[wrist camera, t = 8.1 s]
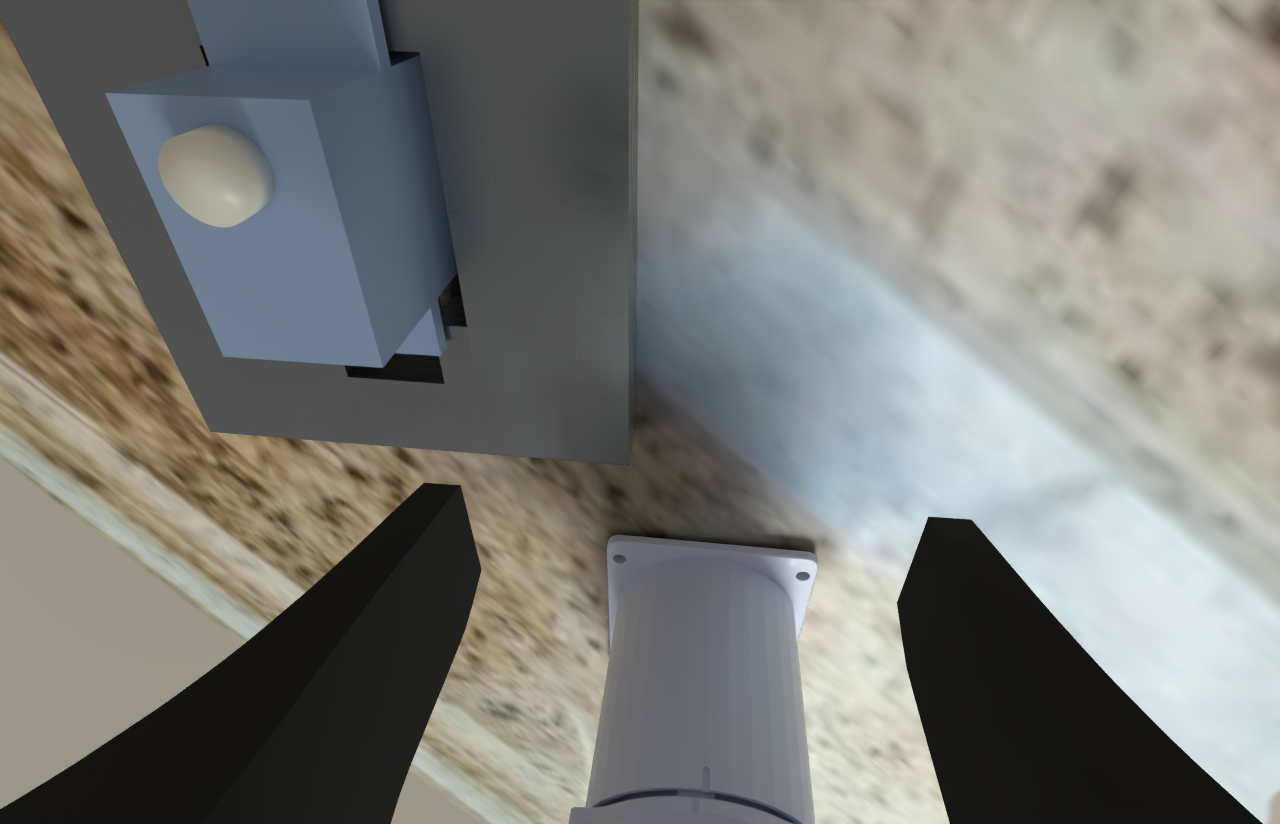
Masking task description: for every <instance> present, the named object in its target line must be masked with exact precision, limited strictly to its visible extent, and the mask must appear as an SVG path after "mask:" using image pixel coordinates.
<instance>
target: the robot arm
mask: <svg viewBox="0 0 1280 824" xmlns="http://www.w3.org/2000/svg"><path fill="white" fill-rule="evenodd" d="M620 555H623V556H620ZM818 568H819V565H818V558H817V557H816V555H815V554H813V553H811V552H807V551H796V550H785V549H774V548H762V547H751V546H740V545H729V544H718V543H706V542H695V541H684V540H673V539H662V538H650V537H639V536H628V535H615V536H612V537H611V538H610V539H609V541H608V545H607V571H608V603H609V635H610V658H609V664H608V670H607V676H606V682H605V689H604V695H603V701H602V707H601V714H600V720H599V726H598V732H597V738H596V745H595V751H594V757H593V763H592V770H591V776H590V782H589V788H588V795H587V801H586V807H573V808H572V809H571V813H570V819H569V824H815V818H814V808H813V798H812V787H811V777H810V767H809V757H808V747H807V737H806V727H805V716H804V706H803V696H802V686H801V676H800V666H799V656H798V645H797V644H798V641H799V637H800V633H801V630H802V626H803V623H804V619H805V615H806V612H807V608H808V604H809V601H810V597H811V594H812V590H813V586H814V583H815V579H816V575H817V572H818ZM480 573H481V566H480V562H479V558H478V554H477V550H476V546H475V542H474V538H473V534H472V530H471V526H470V521H469V517H468V513H467V509H466V505H465V501H464V497H463V493H462V489H461V485H447V484H432V483H423V484H422V485H421V486H420V487H419V488H418V489H417V490H416V491H415V492H414V493H412V494H411V495H410V496H409V497H408V498H407V499H406V500H405V501H404V502H403V503H402V504H401V505H400V506H399V507H397V508H396V509H395V510H394V511H393V512H392V513H391V514H390V515H389V516H388V517H387V518H386V519H385V520H384V521H383V522H382V523H381V524H380V525H379V526H377V527H376V528H375V529H374V530H373V531H372V532H371V533H370V534H369V535H368V536H367V537H366V538H365V539H364V540H363V541H362V542H361V543H359V544H358V545H357V546H356V547H355V548H354V549H353V550H352V551H351V552H350V553H349V554H348V555H347V556H345V557H344V558H343V559H342V560H341V561H340V562H339V563H338V564H337V565H336V566H334V567H333V568H332V569H331V570H330V571H329V572H328V573H327V574H326V575H325V576H323V577H322V578H321V579H320V580H319V581H318V582H317V583H316V584H315V585H314V586H312V587H311V588H310V589H309V590H308V591H307V592H306V593H305V594H303V595H302V596H301V597H300V598H299V599H298V600H296V601H295V602H294V603H293V604H292V605H290V606H289V607H288V608H287V609H286V610H284V611H283V612H282V613H281V614H280V615H279V616H277V617H276V618H275V619H274V620H273V621H271V622H270V623H269V624H268V625H267V626H266V627H264V628H263V629H262V630H261V631H260V632H258V633H257V634H256V635H255V636H254V637H252V638H251V639H250V640H249V641H247V642H246V643H245V644H244V645H242V646H241V647H240V648H239V649H237V650H236V651H235V652H234V653H233V654H231V655H230V656H228V657H227V658H226V659H225V660H223V661H222V662H221V663H219V664H218V665H217V666H215V667H214V668H213V669H211V670H210V671H209V672H207V673H206V674H205V675H203V676H202V677H201V678H199V679H198V680H197V681H195V682H194V683H192V684H191V685H190V686H188V687H187V688H186V689H184V690H183V691H182V692H180V693H179V694H177V695H176V696H175V697H173V698H172V699H170V700H169V701H168V702H166V703H165V704H163V705H162V706H161V707H159V708H158V709H156V710H155V711H153V712H152V713H150V714H149V715H147V716H146V717H144V718H143V719H141V720H140V721H139V722H137V723H135V724H134V725H132V726H131V727H129V728H128V729H126V730H125V731H123V732H122V733H120V734H119V735H117V736H116V737H114V738H113V739H111V740H110V741H108V742H107V743H105V744H104V745H102V746H101V747H99V748H98V749H96V750H95V751H93V752H92V753H90V754H89V755H87V756H86V757H84V758H83V759H81V760H80V761H78V762H77V763H75V764H74V765H72V766H70V767H69V768H67V769H66V770H64V771H63V772H61V773H59V774H58V775H56V776H54V777H53V778H51V779H50V780H48V781H46V782H45V783H43V784H41V785H40V786H38V787H36V788H35V789H33V790H32V791H30V792H28V793H27V794H25V795H23V796H22V797H20V798H19V799H17V800H15V801H14V802H12V803H10V804H8V805H7V806H5V807H3V808H2V809H0V824H390V823H391V821H392V817H393V814H394V811H395V808H396V804H397V801H398V798H399V795H400V792H401V790H402V787H403V784H404V781H405V778H406V776H407V773H408V770H409V768H410V765H411V762H412V760H413V758H414V755H415V753H416V750H417V748H418V745H419V743H420V740H421V738H422V735H423V733H424V731H425V728H426V726H427V723H428V721H429V718H430V716H431V713H432V711H433V709H434V706H435V704H436V701H437V699H438V696H439V694H440V691H441V689H442V687H443V684H444V682H445V679H446V677H447V674H448V672H449V669H450V667H451V664H452V662H453V659H454V657H455V654H456V652H457V649H458V647H459V644H460V642H461V639H462V637H463V634H464V631H465V629H466V625H467V622H468V618H469V615H470V611H471V608H472V604H473V600H474V597H475V593H476V589H477V585H478V581H479V577H480ZM897 606H898V613H899V620H900V627H901V635H902V641H903V647H904V653H905V660H906V666H907V670H908V674H909V678H910V682H911V686H912V689H913V693H914V697H915V700H916V704H917V708H918V711H919V715H920V719H921V722H922V726H923V729H924V733H925V736H926V740H927V744H928V747H929V751H930V754H931V758H932V761H933V765H934V769H935V772H936V776H937V779H938V783H939V786H940V790H941V793H942V797H943V801H944V804H945V808H946V811H947V815H948V818H949V822H950V824H1262V823H1261V822H1260V821H1259V820H1258V819H1257V818H1256V817H1255V816H1254V815H1252V814H1251V813H1250V812H1249V811H1248V810H1247V809H1246V808H1245V807H1244V806H1243V805H1241V804H1240V803H1239V802H1238V801H1237V800H1236V799H1235V798H1234V797H1233V796H1232V795H1231V794H1229V793H1228V792H1227V791H1226V790H1225V789H1224V788H1223V787H1222V786H1221V785H1220V784H1218V783H1217V782H1216V781H1215V780H1214V779H1213V778H1212V777H1211V776H1210V775H1209V774H1208V773H1206V772H1205V771H1204V770H1203V769H1202V768H1201V767H1200V766H1199V765H1198V764H1197V763H1195V762H1194V761H1193V760H1192V759H1191V758H1190V757H1189V756H1188V755H1187V754H1186V753H1185V752H1184V751H1183V750H1182V749H1181V748H1180V747H1179V746H1178V745H1177V744H1176V743H1175V742H1174V741H1172V740H1171V739H1170V738H1169V737H1168V736H1167V735H1166V734H1165V733H1164V732H1163V731H1162V730H1161V729H1160V728H1159V727H1158V726H1157V725H1156V724H1155V723H1154V722H1153V721H1152V720H1151V719H1150V718H1149V717H1148V716H1147V715H1146V714H1145V713H1144V712H1143V711H1142V710H1141V709H1140V707H1139V706H1138V705H1137V704H1136V703H1135V702H1134V701H1133V700H1132V699H1131V698H1130V697H1129V696H1128V695H1127V694H1126V693H1125V692H1124V691H1123V690H1122V689H1121V688H1120V687H1119V686H1118V685H1117V684H1116V683H1115V682H1114V681H1113V680H1112V679H1111V678H1110V677H1109V676H1108V675H1107V674H1106V673H1105V671H1104V670H1103V669H1102V668H1101V667H1100V666H1099V665H1098V664H1097V663H1096V662H1095V661H1094V660H1093V659H1092V657H1091V656H1090V655H1089V654H1088V653H1087V652H1086V651H1085V650H1084V649H1083V648H1082V646H1081V645H1080V644H1079V643H1078V642H1077V641H1076V640H1075V639H1074V638H1073V637H1072V635H1071V634H1070V633H1069V632H1068V631H1067V630H1066V629H1065V628H1064V627H1063V625H1062V624H1061V623H1060V622H1059V621H1058V620H1057V619H1056V618H1055V616H1054V615H1053V614H1052V613H1051V612H1050V611H1049V610H1048V609H1047V607H1046V606H1045V605H1044V604H1043V603H1042V602H1041V600H1040V599H1039V598H1038V597H1037V596H1036V595H1035V594H1034V592H1033V591H1032V590H1031V589H1030V588H1029V587H1028V585H1027V584H1026V583H1025V582H1024V581H1023V580H1022V578H1021V577H1020V576H1019V575H1018V574H1017V573H1016V571H1015V570H1014V569H1013V568H1012V567H1011V565H1010V564H1009V563H1008V562H1007V561H1006V560H1005V558H1004V557H1003V556H1002V555H1001V554H1000V553H999V551H998V550H997V549H996V548H995V547H994V545H993V544H992V543H991V542H990V541H989V540H988V538H987V537H986V536H985V535H984V534H983V533H982V531H981V530H980V529H979V528H978V527H977V526H976V524H975V523H974V522H973V521H972V520H969V519H954V518H939V517H928V520H927V522H926V525H925V528H924V531H923V533H922V536H921V539H920V542H919V544H918V547H917V550H916V552H915V555H914V558H913V561H912V563H911V566H910V569H909V572H908V574H907V577H906V580H905V583H904V585H903V588H902V591H901V594H900V596H899V599H898V602H897Z"/></svg>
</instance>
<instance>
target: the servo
mask: <svg viewBox="0 0 1280 824" xmlns="http://www.w3.org/2000/svg"><path fill="white" fill-rule="evenodd" d="M187 2H188V5H189V8H190V11H191V14H192V16H193V19H194V22H195V25H196V28H197V31H198V33H199V36H200V39H201V42H202V45H203V48H204V51H205V53H206V56H207V59H208V62H209V65H210V66H206V67H202V68H198V69H194V70H191V71H187V72H183V73H179V74H175V75H172V76H168V77H164V78H160V79H156V80H152V81H149V82H145V83H141V84H137V85H133V86H130V87H126V88H122V89H118V90H114V91H111V92H107V93H105V94H106V97H107V99H108V101H109V103H110V106H111V108H112V110H113V112H114V114H115V117H116V119H117V121H118V123H119V126H120V128H121V130H122V132H123V134H124V137H125V139H126V141H127V143H128V146H129V148H130V150H131V152H132V154H133V157H134V159H135V161H136V163H137V166H138V168H139V170H140V172H141V174H142V177H143V179H144V181H145V183H146V186H147V188H148V190H149V192H150V194H151V197H152V199H153V201H154V203H155V206H156V208H157V210H158V212H159V214H160V217H161V219H162V221H163V223H164V226H165V228H166V230H167V232H168V234H169V237H170V239H171V241H172V243H173V246H174V248H175V250H176V252H177V254H178V257H179V259H180V261H181V263H182V266H183V268H184V270H185V272H186V274H187V277H188V279H189V281H190V283H191V286H192V288H193V290H194V292H195V294H196V297H197V299H198V301H199V303H200V306H201V308H202V310H203V312H204V314H205V317H206V319H207V321H208V323H209V326H210V328H211V330H212V332H213V334H214V337H215V339H216V341H217V343H218V346H219V348H220V350H221V352H222V354H223V357H235V358H249V359H264V360H278V361H292V362H307V363H321V364H335V365H350V366H364V367H379V368H383V367H384V366H385V365H386V364H387V362H388V361H389V360H390V358H391V357H392V356H393V355H394V353H400V354H415V355H429V356H441V355H442V354H443V352H444V351H445V349H446V348H447V343H446V338H445V333H444V328H443V323H442V319H441V307H440V302H439V296H440V295H441V293H442V292H443V291H444V290H445V288H446V287H447V286H448V284H449V283H450V282H451V281H452V279H453V278H454V277H455V276H456V274H457V273H458V271H457V266H456V260H455V254H454V248H453V243H452V237H451V231H450V225H449V220H448V214H447V208H446V202H445V197H444V191H443V185H442V179H441V174H440V168H439V162H438V157H437V151H436V145H435V139H434V134H433V128H432V122H431V116H430V111H429V105H428V99H427V93H426V88H425V82H424V76H423V70H422V65H421V59H420V53H419V52H389V51H388V49H387V44H386V39H385V34H384V29H383V24H382V19H381V14H380V9H379V4H378V0H187Z"/></svg>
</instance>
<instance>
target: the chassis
mask: <svg viewBox="0 0 1280 824" xmlns="http://www.w3.org/2000/svg"><path fill="white" fill-rule="evenodd" d="M378 4H379V9H380V14H381V19H382V24H383V29H384V34H385V39H386V44H387V49H388V51H404V52H419V53H420V59H421V65H422V70H423V76H424V82H425V88H426V93H427V99H428V105H429V111H430V116H431V122H432V128H433V134H434V139H435V145H436V151H437V157H438V162H439V168H440V174H441V179H442V185H443V191H444V197H445V202H446V208H447V214H448V220H449V225H450V231H451V237H452V243H453V248H454V254H455V260H456V266H457V271H458V277H459V283H460V289H461V294H462V296H456V295H454V296H453V298H452V299H451V300H450V302H449V303H448V304H447V306H446V307H445V308H444V310H443V311H442V312H441V319H442V323H443V328H444V333H445V338H446V343H447V348H446V349H445V351H444V352H443V354H442V355H441V356H429V355H415V354H400V353H394V355H393V356H392V357H391V358H390V360H389V361H388V362H387V364H386V365H385V366H384V367H383V368H379V367H364V366H350V365H335V364H321V363H307V362H292V361H278V360H264V359H249V358H235V357H223V354H222V352H221V350H220V348H219V346H218V343H217V341H216V339H215V337H214V334H213V332H212V330H211V328H210V326H209V323H208V321H207V319H206V317H205V314H204V312H203V310H202V308H201V306H200V303H199V301H198V299H197V297H196V294H195V292H194V290H193V288H192V286H191V283H190V281H189V279H188V277H187V274H186V272H185V270H184V268H183V266H182V263H181V261H180V259H179V257H178V254H177V252H176V250H175V248H174V246H173V243H172V241H171V239H170V237H169V234H168V232H167V230H166V228H165V226H164V223H163V221H162V219H161V217H160V214H159V212H158V210H157V208H156V206H155V203H154V201H153V199H152V197H151V194H150V192H149V190H148V188H147V186H146V183H145V181H144V179H143V177H142V174H141V172H140V170H139V168H138V166H137V163H136V161H135V159H134V157H133V154H132V152H131V150H130V148H129V146H128V143H127V141H126V139H125V137H124V134H123V132H122V130H121V128H120V126H119V123H118V121H117V119H116V117H115V114H114V112H113V110H112V108H111V106H110V103H109V101H108V99H107V97H106V94H105V93H107V92H111V91H114V90H118V89H122V88H126V87H130V86H133V85H137V84H141V83H145V82H149V81H152V80H156V79H160V78H164V77H168V76H172V75H175V74H179V73H183V72H187V71H191V70H194V69H198V68H202V67H206V66H210V65H209V62H208V59H207V56H206V53H205V51H204V48H203V45H202V42H201V39H200V36H199V33H198V31H197V28H196V25H195V22H194V19H193V16H192V14H191V11H190V8H189V5H188V2H187V0H0V18H1V20H2V22H3V24H4V26H5V28H6V30H7V32H8V34H9V36H10V38H11V40H12V42H13V44H14V46H15V48H16V50H17V52H18V54H19V56H20V57H21V59H22V61H23V63H24V65H25V67H26V69H27V71H28V73H29V75H30V77H31V79H32V81H33V83H34V85H35V87H36V89H37V91H38V93H39V95H40V97H41V99H42V101H43V103H44V105H45V107H46V109H47V111H48V113H49V115H50V117H51V119H52V120H53V122H54V124H55V126H56V128H57V130H58V132H59V134H60V136H61V138H62V140H63V142H64V144H65V146H66V148H67V150H68V152H69V154H70V156H71V158H72V160H73V162H74V164H75V166H76V168H77V170H78V172H79V174H80V176H81V178H82V180H83V181H84V183H85V185H86V187H87V189H88V191H89V193H90V195H91V197H92V199H93V201H94V203H95V205H96V207H97V209H98V211H99V213H100V215H101V217H102V219H103V221H104V223H105V225H106V227H107V229H108V231H109V233H110V235H111V237H112V239H113V241H114V242H115V244H116V246H117V248H118V250H119V252H120V254H121V256H122V258H123V260H124V262H125V264H126V266H127V268H128V270H129V272H130V274H131V276H132V278H133V280H134V282H135V284H136V286H137V288H138V290H139V292H140V294H141V296H142V298H143V300H144V302H145V304H146V305H147V307H148V309H149V311H150V313H151V315H152V317H153V319H154V321H155V323H156V325H157V327H158V329H159V331H160V333H161V335H162V337H163V339H164V341H165V343H166V345H167V347H168V349H169V351H170V353H171V355H172V357H173V359H174V361H175V363H176V365H177V366H178V368H179V370H180V372H181V374H182V376H183V378H184V380H185V382H186V384H187V386H188V388H189V390H190V392H191V394H192V396H193V398H194V400H195V402H196V404H197V406H198V408H199V410H200V412H201V414H202V416H203V418H204V420H205V422H206V424H207V426H208V427H209V429H210V431H211V432H219V433H232V434H244V435H257V436H269V437H282V438H294V439H306V440H319V441H331V442H344V443H356V444H369V445H381V446H393V447H406V448H418V449H431V450H443V451H456V452H468V453H480V454H493V455H505V456H518V457H530V458H543V459H555V460H567V461H580V462H592V463H605V464H617V465H629V461H630V455H631V450H632V444H633V439H634V433H635V383H636V251H637V118H638V0H378Z"/></svg>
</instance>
